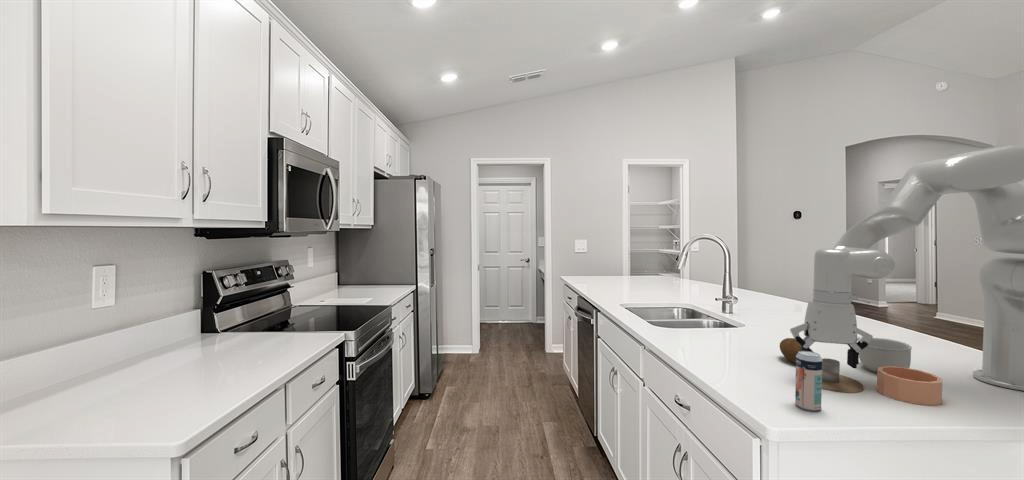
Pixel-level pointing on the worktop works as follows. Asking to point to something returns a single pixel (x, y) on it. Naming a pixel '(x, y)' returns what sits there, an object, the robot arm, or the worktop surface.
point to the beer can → (808, 380)
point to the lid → (838, 379)
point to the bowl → (909, 385)
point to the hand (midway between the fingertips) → (829, 364)
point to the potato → (790, 349)
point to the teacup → (885, 354)
